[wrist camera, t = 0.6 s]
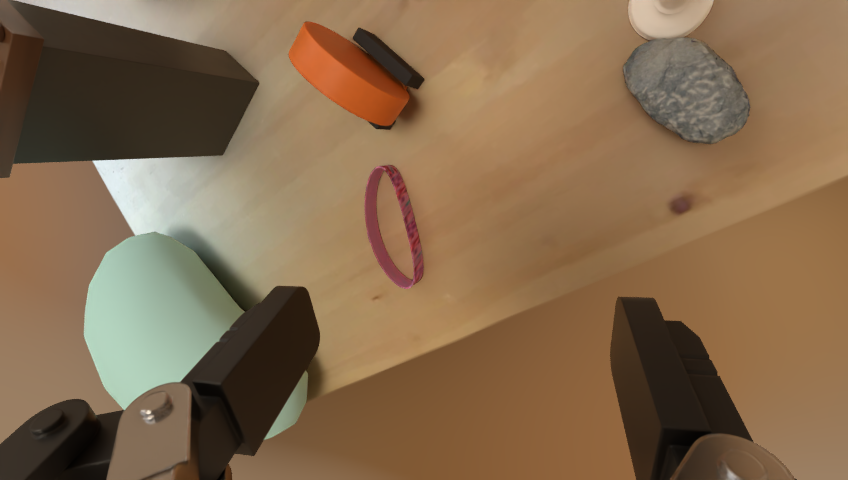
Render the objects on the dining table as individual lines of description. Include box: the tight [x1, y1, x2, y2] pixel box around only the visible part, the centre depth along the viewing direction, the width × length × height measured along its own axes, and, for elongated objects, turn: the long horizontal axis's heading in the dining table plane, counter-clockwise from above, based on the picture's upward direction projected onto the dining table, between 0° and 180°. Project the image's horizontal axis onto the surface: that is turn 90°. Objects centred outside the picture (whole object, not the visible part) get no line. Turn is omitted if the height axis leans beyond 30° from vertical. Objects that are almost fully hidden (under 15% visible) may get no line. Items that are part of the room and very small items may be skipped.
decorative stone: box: [84, 232, 308, 440], centre depth 44 cm, size 14×25×17 cm
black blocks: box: [353, 28, 424, 130], centre depth 35 cm, size 6×5×2 cm
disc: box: [289, 22, 409, 126], centre depth 32 cm, size 9×2×9 cm, turn 51°
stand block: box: [7, 0, 259, 164], centre depth 35 cm, size 5×9×18 cm, turn 141°
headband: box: [365, 165, 423, 289], centre depth 38 cm, size 11×4×2 cm, turn 15°
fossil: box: [623, 37, 750, 144], centre depth 27 cm, size 8×4×5 cm
